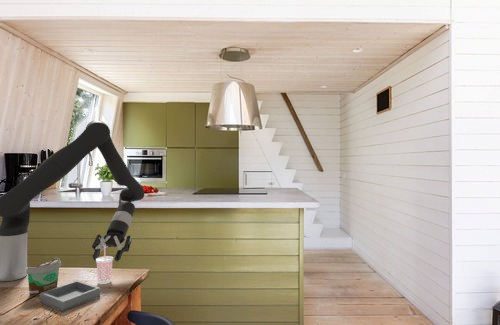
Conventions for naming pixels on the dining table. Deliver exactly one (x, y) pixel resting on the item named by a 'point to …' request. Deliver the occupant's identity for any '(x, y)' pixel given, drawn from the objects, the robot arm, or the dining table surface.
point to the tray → (69, 295)
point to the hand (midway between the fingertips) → (105, 260)
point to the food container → (43, 276)
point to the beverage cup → (104, 268)
